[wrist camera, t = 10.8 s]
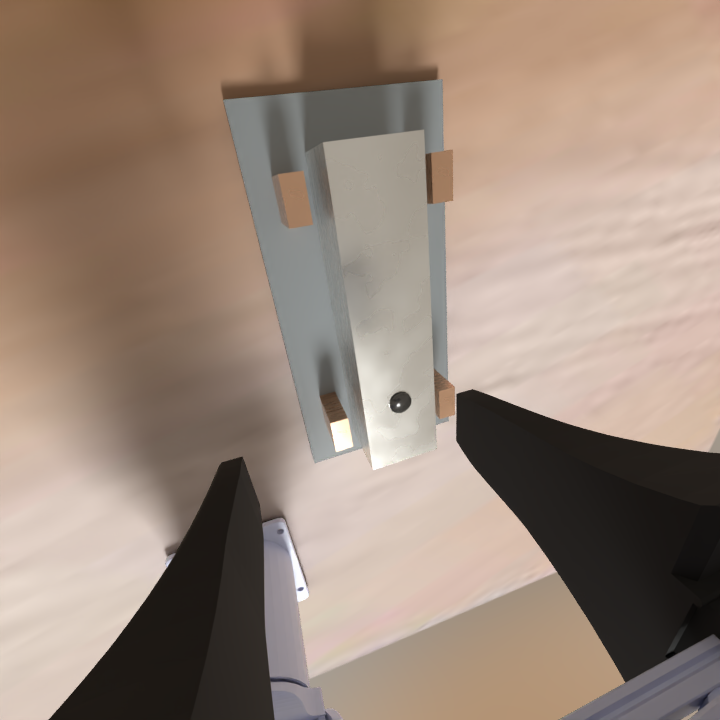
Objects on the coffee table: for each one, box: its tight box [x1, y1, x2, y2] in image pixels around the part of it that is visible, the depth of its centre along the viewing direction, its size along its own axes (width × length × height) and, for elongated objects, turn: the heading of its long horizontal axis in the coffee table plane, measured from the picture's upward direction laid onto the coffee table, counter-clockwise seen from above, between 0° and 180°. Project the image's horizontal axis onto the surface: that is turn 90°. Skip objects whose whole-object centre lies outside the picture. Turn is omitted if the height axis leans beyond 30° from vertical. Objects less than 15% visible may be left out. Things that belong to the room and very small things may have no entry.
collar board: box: [223, 79, 455, 463], centre depth 19 cm, size 20×10×4 cm, turn 7°
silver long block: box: [305, 130, 437, 470], centre depth 19 cm, size 16×4×4 cm, turn 7°
